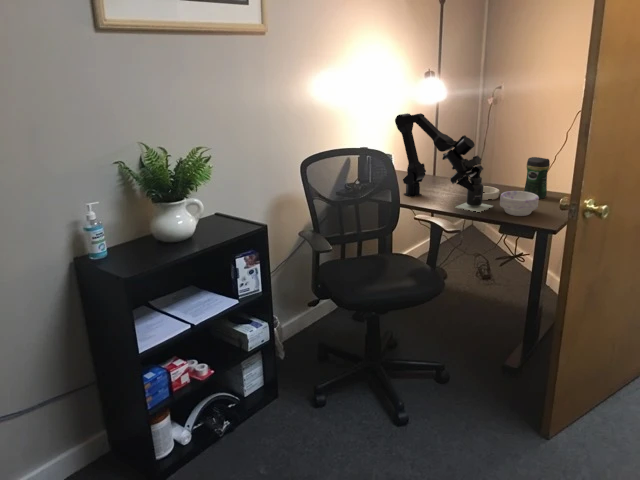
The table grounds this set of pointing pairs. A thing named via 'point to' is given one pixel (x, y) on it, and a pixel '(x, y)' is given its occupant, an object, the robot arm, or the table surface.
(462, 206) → the mat
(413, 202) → the table surface
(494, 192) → the ring holder
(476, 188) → the supplement bottle
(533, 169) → the coffee jar
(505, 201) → the paper bowls
